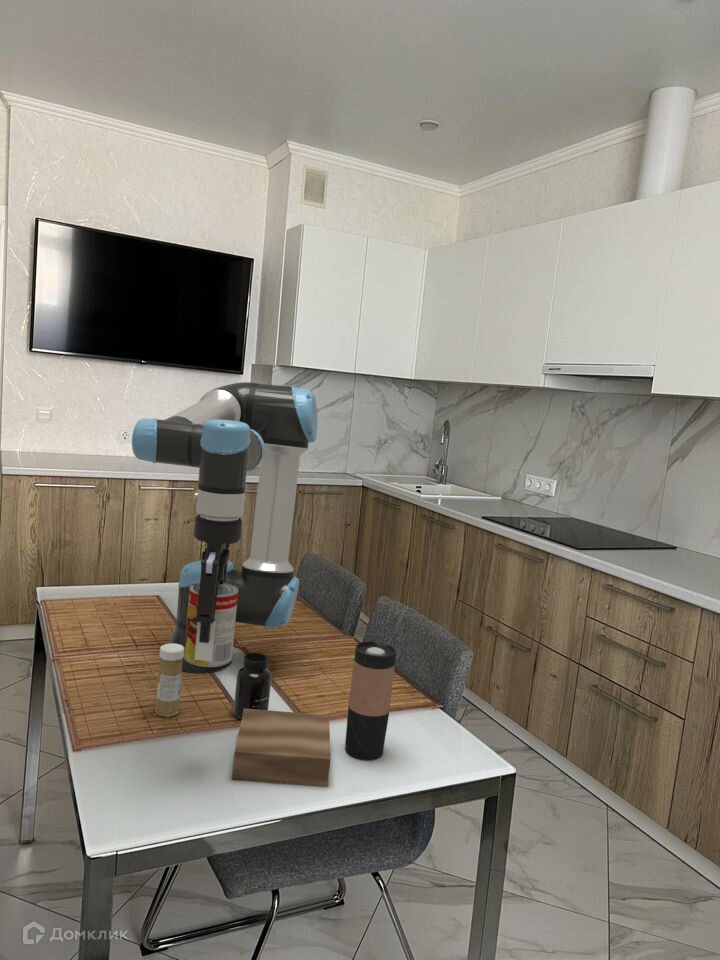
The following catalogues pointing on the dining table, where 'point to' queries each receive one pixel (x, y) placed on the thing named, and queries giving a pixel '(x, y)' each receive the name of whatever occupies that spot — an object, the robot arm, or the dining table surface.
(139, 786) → the dining table surface
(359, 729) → the travel mug
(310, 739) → the walnut riser
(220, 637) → the canned food
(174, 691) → the sprinkles bottle
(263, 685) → the supplement bottle
